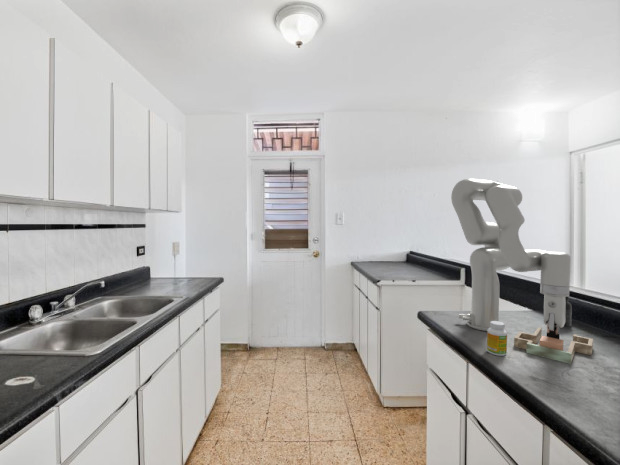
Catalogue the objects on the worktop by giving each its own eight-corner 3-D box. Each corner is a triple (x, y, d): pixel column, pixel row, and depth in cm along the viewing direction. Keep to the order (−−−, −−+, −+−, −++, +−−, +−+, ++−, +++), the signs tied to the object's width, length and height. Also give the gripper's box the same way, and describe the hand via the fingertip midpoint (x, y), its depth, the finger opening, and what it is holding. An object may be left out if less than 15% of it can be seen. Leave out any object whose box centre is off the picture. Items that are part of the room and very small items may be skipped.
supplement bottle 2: (567, 323, 128) (569, 294, 128) (573, 328, 122) (574, 298, 121) (547, 320, 131) (548, 292, 130) (552, 325, 125) (553, 296, 124)
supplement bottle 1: (499, 357, 96) (500, 326, 96) (483, 351, 101) (484, 321, 100) (510, 354, 99) (511, 324, 98) (493, 347, 103) (494, 319, 103)
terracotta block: (539, 354, 99) (539, 340, 98) (541, 348, 103) (542, 335, 102) (561, 359, 95) (561, 345, 95) (563, 353, 99) (563, 340, 99)
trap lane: (511, 349, 102) (512, 340, 102) (525, 332, 117) (525, 324, 117) (589, 368, 89) (589, 358, 89) (592, 346, 104) (593, 338, 104)
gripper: (567, 295, 94) (565, 355, 94) (571, 287, 104) (569, 341, 105) (536, 291, 99) (534, 348, 100) (543, 284, 110) (542, 335, 110)
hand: (552, 344), depth 102 cm, fingers closed
